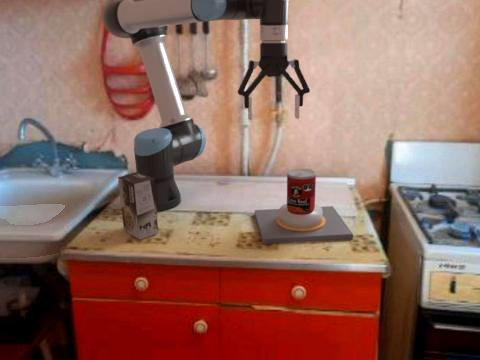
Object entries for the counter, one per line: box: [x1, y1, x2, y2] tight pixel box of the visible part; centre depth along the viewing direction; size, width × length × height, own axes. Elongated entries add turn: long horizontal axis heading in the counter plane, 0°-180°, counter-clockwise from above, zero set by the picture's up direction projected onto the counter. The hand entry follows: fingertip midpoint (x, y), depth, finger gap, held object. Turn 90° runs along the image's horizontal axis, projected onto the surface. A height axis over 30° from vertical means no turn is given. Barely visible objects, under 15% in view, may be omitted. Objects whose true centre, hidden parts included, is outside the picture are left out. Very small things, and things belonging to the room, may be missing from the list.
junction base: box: [253, 203, 354, 245], centre depth 136 cm, size 20×24×5 cm
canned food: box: [286, 168, 317, 215], centre depth 133 cm, size 8×8×11 cm
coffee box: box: [117, 172, 159, 240], centre depth 133 cm, size 9×6×16 cm
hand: (273, 118), depth 139 cm, fingers open, 13 cm apart
